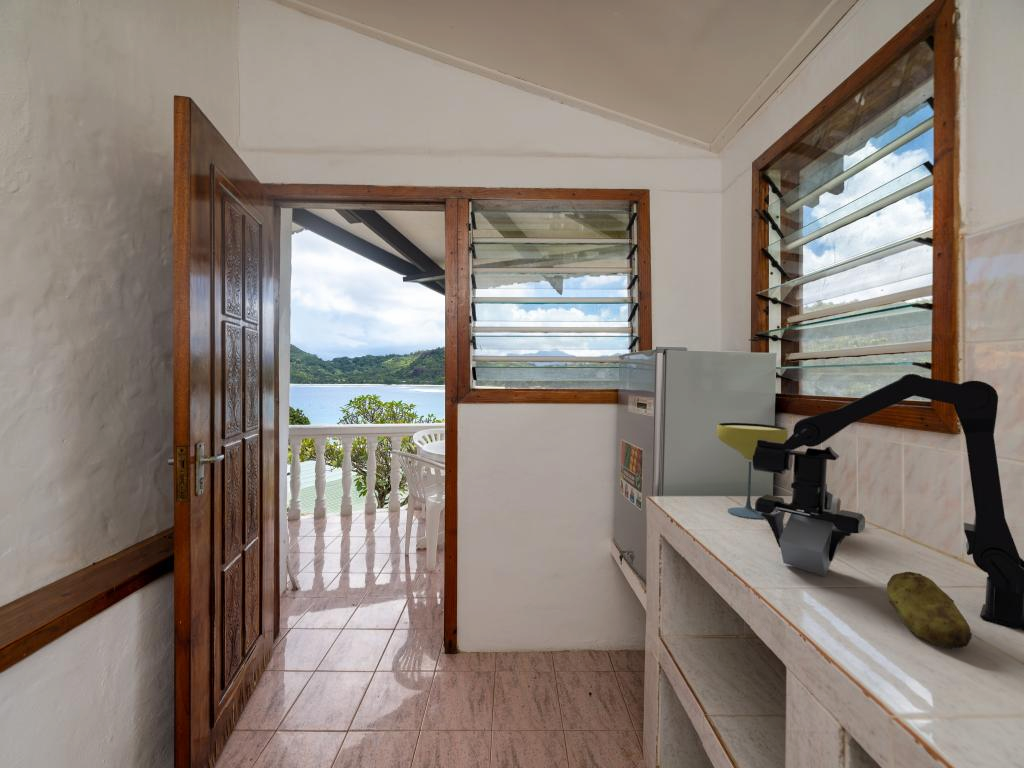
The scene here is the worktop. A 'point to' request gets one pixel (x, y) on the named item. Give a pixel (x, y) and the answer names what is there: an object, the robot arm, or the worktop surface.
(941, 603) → the potato
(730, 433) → the cocktail glass
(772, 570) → the worktop surface
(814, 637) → the worktop surface
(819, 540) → the plain gray cube
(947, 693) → the worktop surface
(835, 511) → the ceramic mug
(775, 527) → the robot arm
